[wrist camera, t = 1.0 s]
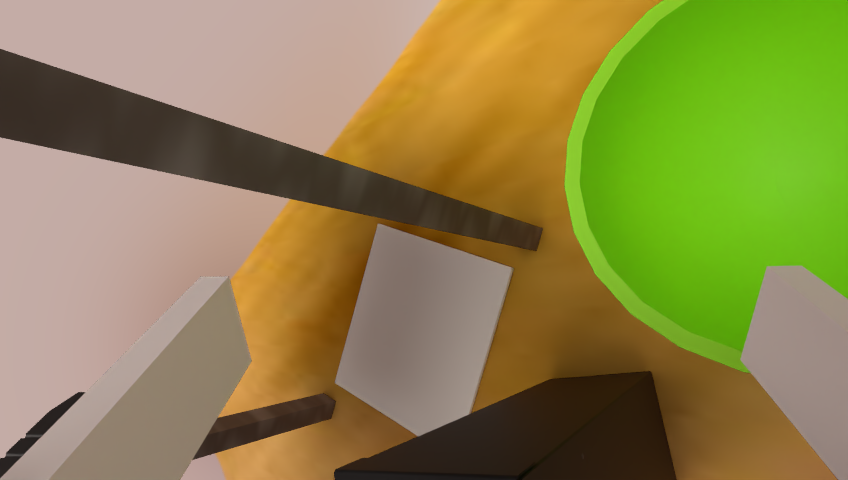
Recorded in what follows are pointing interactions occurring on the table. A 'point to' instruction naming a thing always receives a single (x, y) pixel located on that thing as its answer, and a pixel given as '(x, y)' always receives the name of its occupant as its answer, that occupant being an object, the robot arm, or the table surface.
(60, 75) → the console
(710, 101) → the wineglass
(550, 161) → the table surface
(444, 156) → the table surface
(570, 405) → the tissue box
